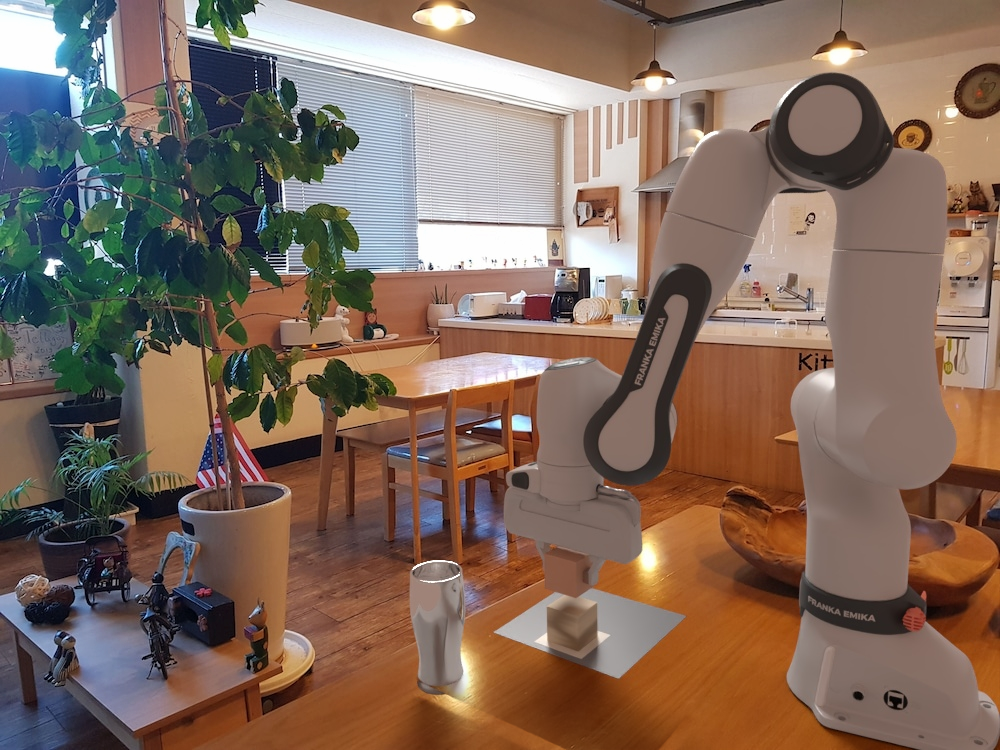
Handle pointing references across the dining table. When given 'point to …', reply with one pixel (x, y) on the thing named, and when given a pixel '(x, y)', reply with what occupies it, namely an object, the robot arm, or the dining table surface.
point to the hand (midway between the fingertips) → (570, 577)
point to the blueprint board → (600, 632)
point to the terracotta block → (566, 571)
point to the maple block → (572, 622)
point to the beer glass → (438, 622)
